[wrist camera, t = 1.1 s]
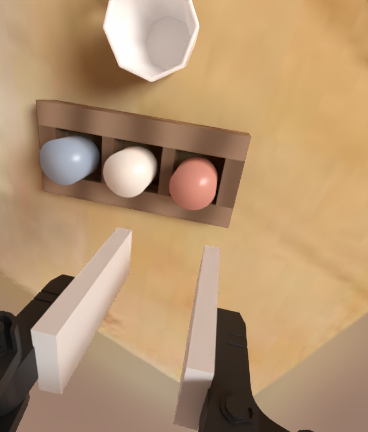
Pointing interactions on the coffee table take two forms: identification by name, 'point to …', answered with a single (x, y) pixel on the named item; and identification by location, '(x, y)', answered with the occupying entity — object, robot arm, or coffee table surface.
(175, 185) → the pink egg
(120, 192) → the cream rounded knob
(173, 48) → the cup
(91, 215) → the coffee table surface
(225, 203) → the brown compartment tray
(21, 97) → the coffee table surface
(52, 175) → the blue egg
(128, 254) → the robot arm
